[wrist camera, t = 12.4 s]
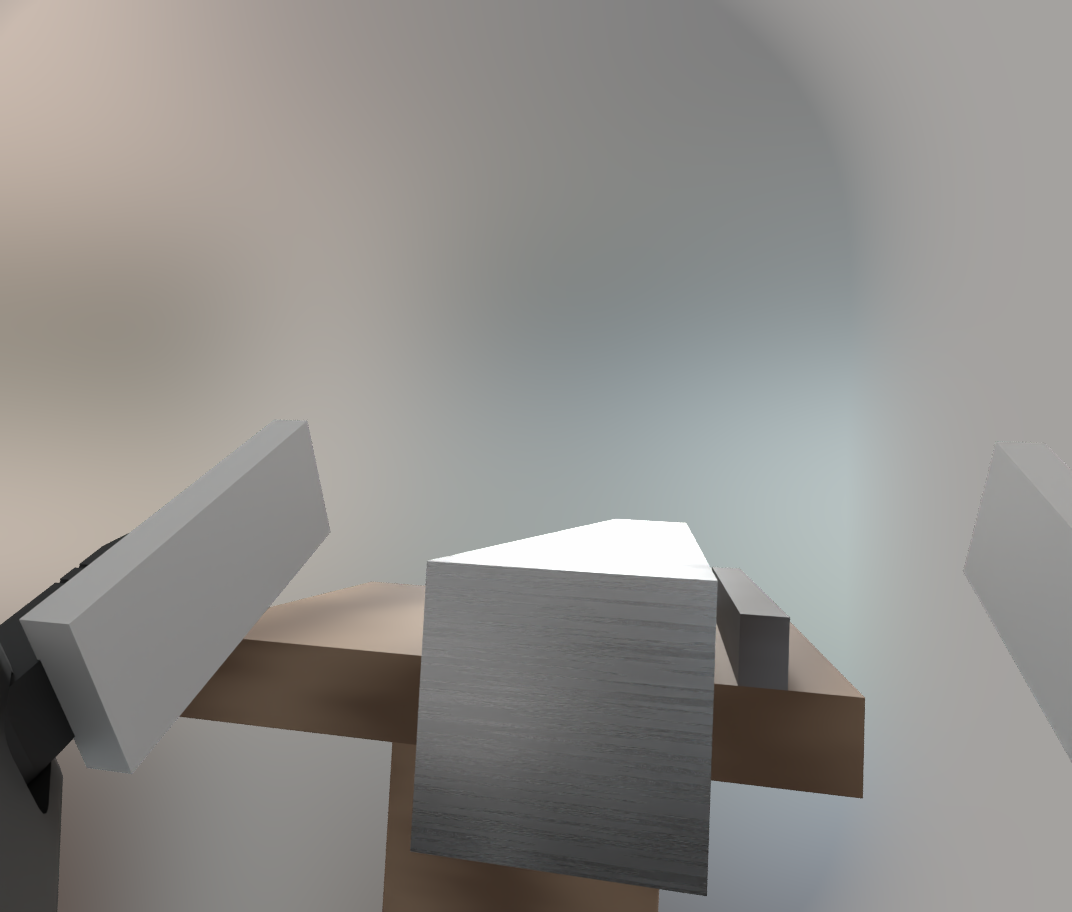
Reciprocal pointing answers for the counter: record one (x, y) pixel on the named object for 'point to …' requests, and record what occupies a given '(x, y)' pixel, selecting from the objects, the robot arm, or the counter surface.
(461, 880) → the walnut shelf
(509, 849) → the steel bar
